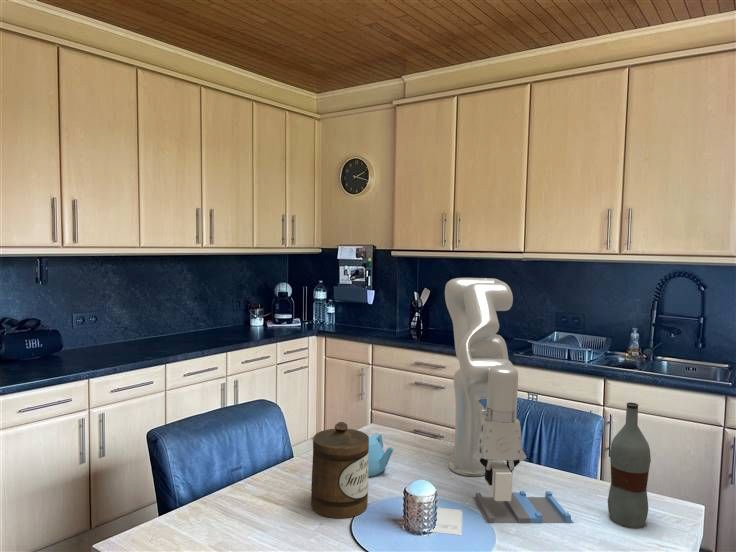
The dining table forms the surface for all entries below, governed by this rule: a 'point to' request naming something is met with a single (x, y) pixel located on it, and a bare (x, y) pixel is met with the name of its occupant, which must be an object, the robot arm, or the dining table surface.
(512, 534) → the dining table surface
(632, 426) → the bottle
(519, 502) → the board
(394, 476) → the dining table surface
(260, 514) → the dining table surface
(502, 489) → the block
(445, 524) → the external hard drive
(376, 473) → the teapot
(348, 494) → the wooden container
